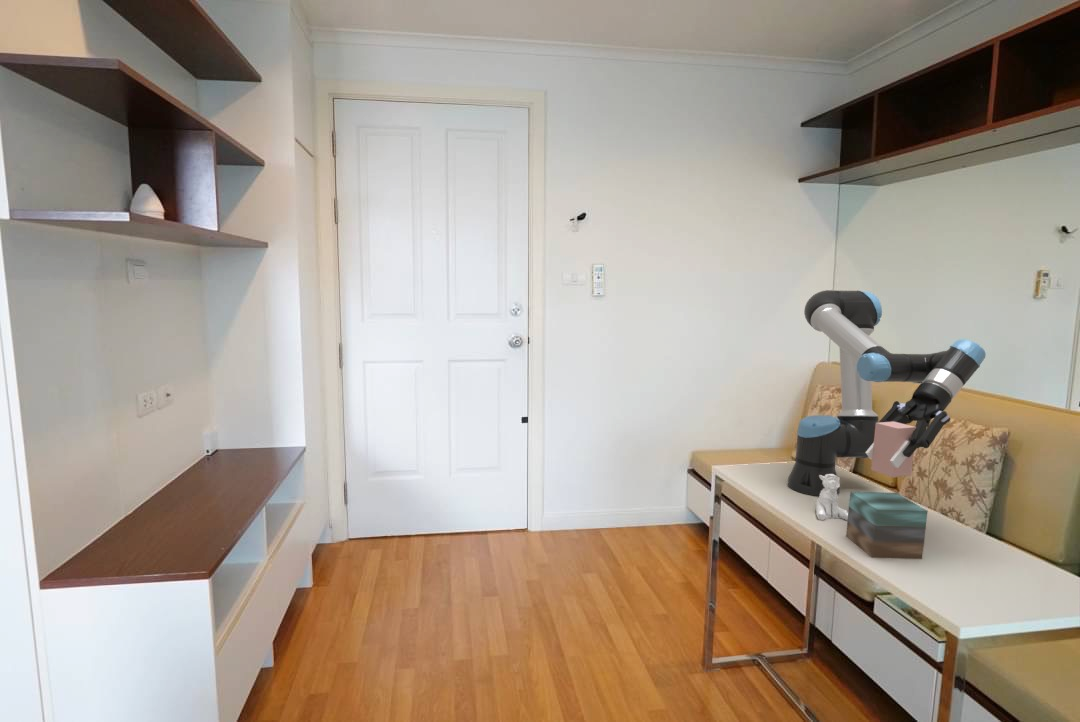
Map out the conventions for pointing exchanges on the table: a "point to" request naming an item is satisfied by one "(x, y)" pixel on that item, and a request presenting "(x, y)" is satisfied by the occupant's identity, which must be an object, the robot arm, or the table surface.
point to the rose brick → (891, 448)
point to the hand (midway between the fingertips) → (881, 460)
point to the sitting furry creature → (829, 499)
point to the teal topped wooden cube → (886, 525)
